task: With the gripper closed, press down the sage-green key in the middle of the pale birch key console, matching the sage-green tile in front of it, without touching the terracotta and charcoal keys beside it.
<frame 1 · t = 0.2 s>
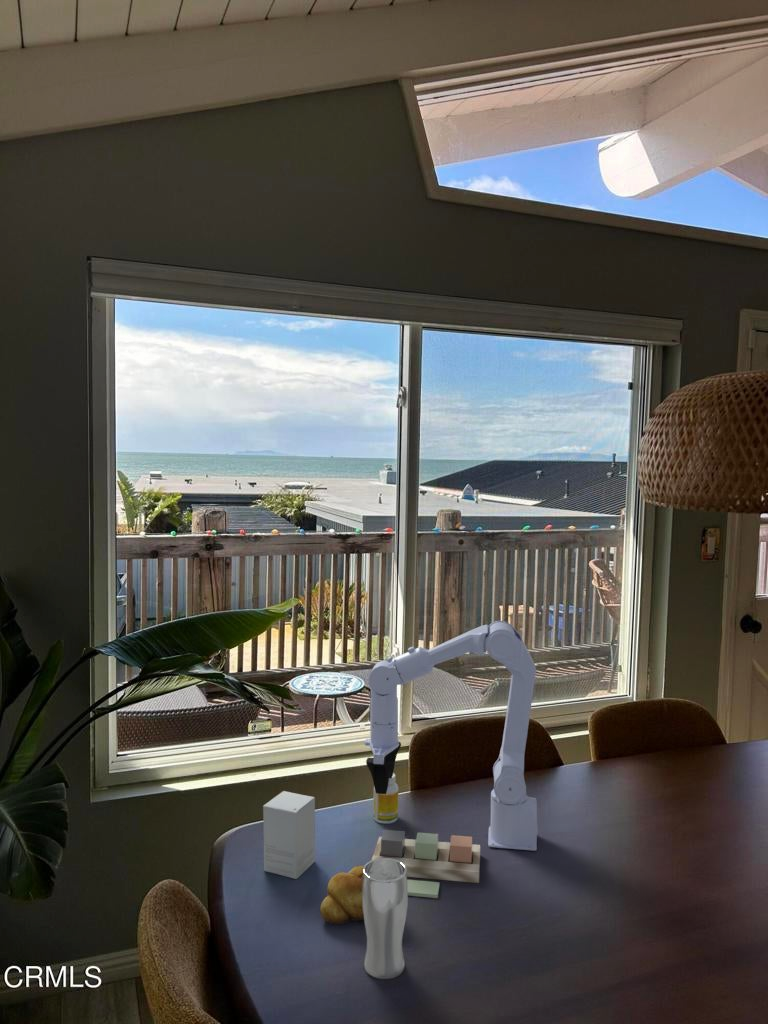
hand: (384, 785, 151), 10 cm above the table, tool pointing down, fingers open, 7 cm apart
key charcoal: (393, 843, 140), point 4 cm above the table, slide at 0.0 cm
supplement box: (289, 867, 138), on the table
prompt tile: (421, 890, 130), on the table
supplement bottle: (385, 819, 157), on the table
key terracotta: (461, 848, 138), point 3 cm above the table, slide at 0.0 cm
beer glass: (384, 967, 110), on the table
bread roll: (355, 913, 124), on the table
key console: (426, 863, 139), on the table
key sage: (426, 845, 139), point 3 cm above the table, slide at 0.0 cm
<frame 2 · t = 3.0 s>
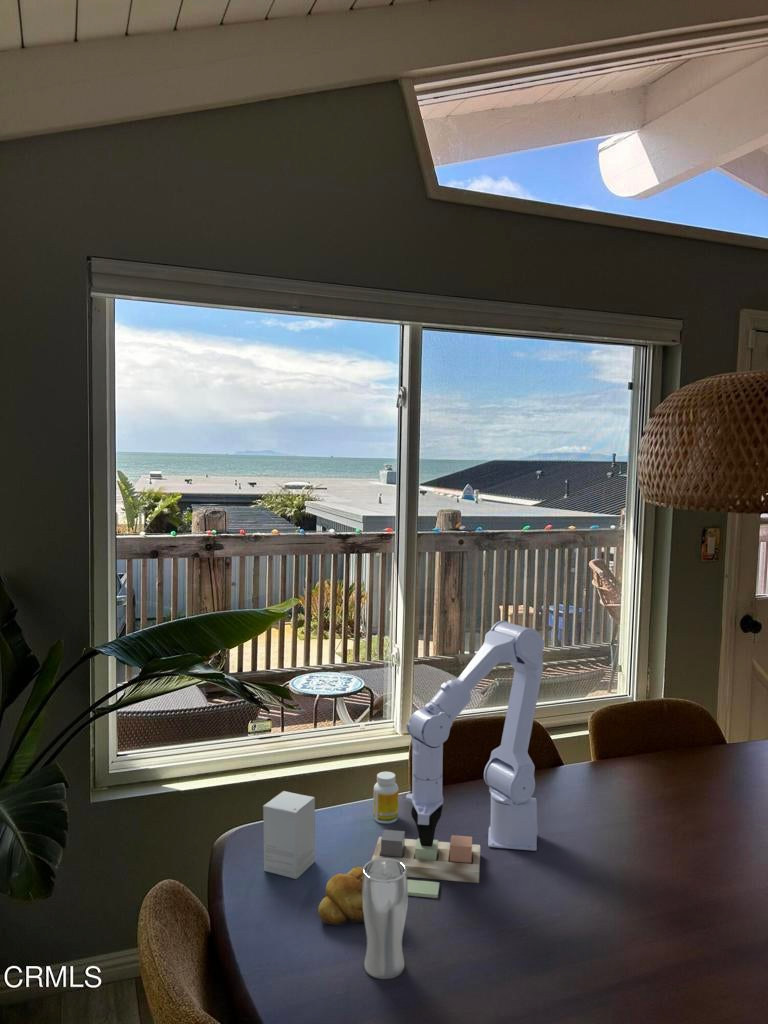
hand: (426, 844, 139), 4 cm above the table, tool pointing down, fingers closed, pressing on key sage
key sage: (426, 851, 139), point 2 cm above the table, slide at 1.2 cm, touching gripper
everything else where it was.
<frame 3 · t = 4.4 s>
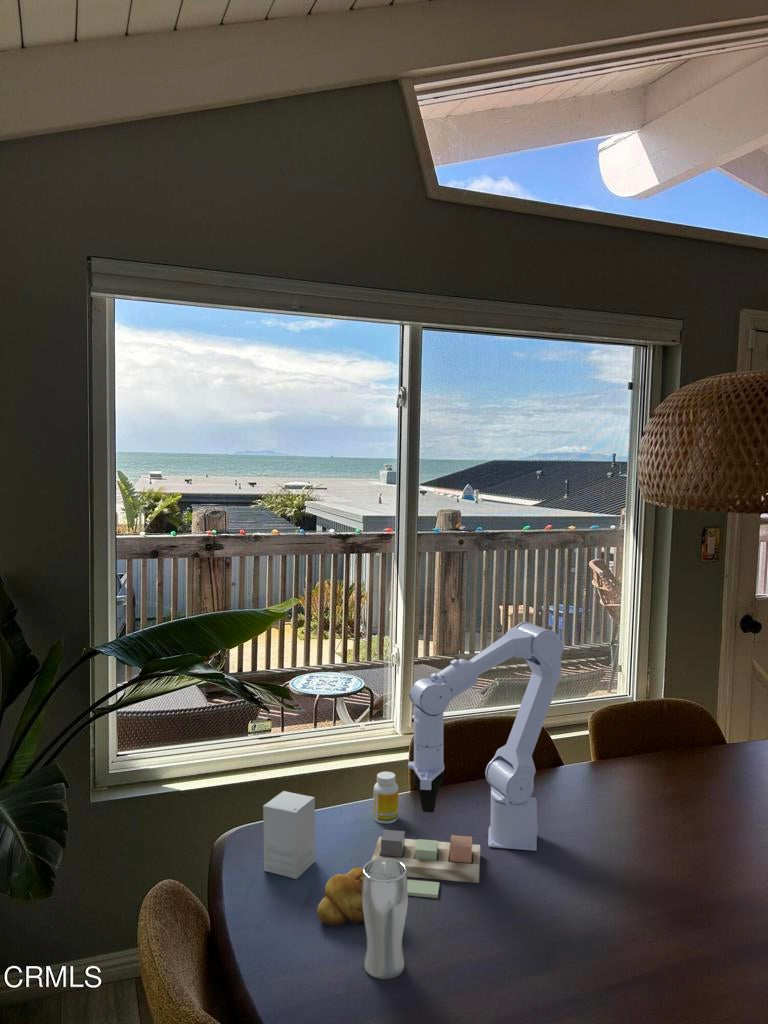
hand: (428, 810, 142), 9 cm above the table, tool pointing down, fingers closed
key sage: (426, 852, 139), point 2 cm above the table, slide at 1.3 cm
everything else where it was.
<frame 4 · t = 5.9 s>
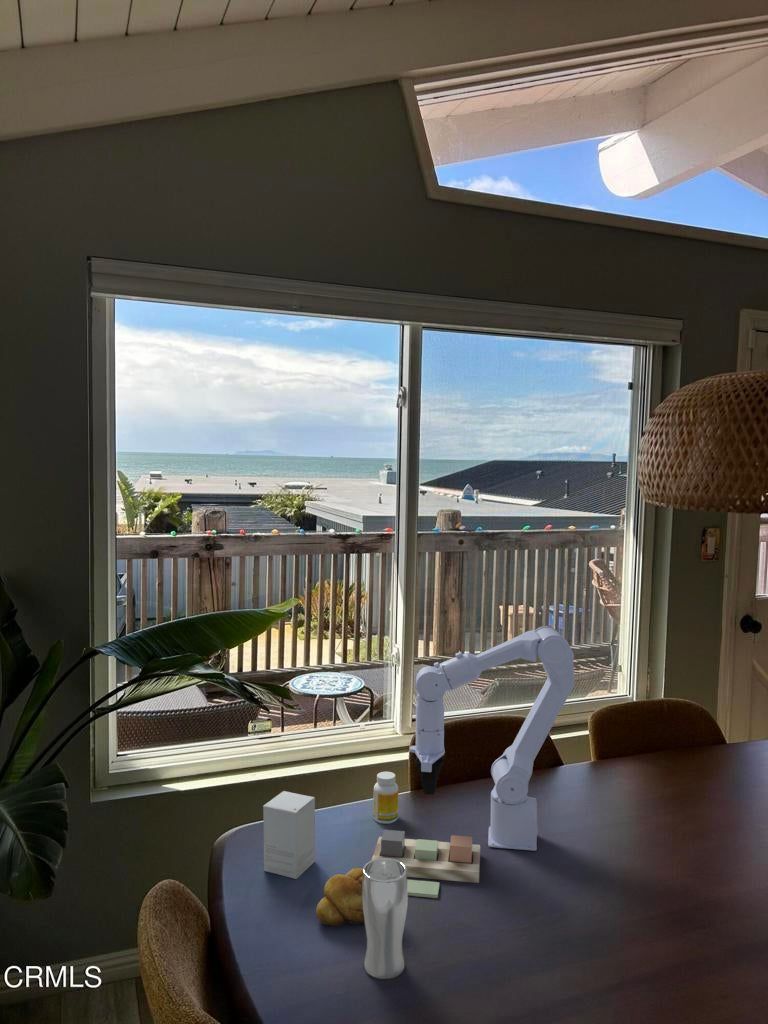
hand: (429, 793, 148), 9 cm above the table, tool pointing down, fingers closed
nothing on the table moved.
at the end: key sage slide at 1.3 cm; key terracotta slide at 0.0 cm; key charcoal slide at 0.0 cm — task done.
